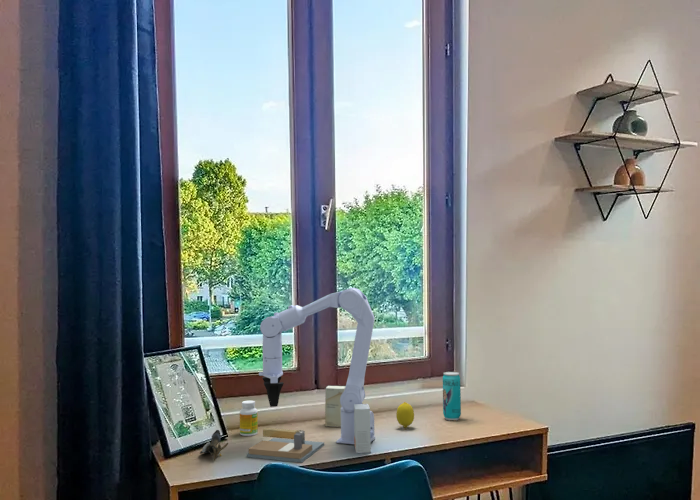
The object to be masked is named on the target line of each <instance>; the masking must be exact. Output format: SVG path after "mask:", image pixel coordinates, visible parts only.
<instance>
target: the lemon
mask: <svg viewBox="0 0 700 500" xmlns="http://www.w3.org/2000/svg"><path fill="white" fill-rule="evenodd" d="M414 419H415V412H414V408H413V407H412V405H411V404H410V403H408V402H406V401H404V402H403V403H400V405H398V407H397V409H396V421H397V423H398V424H399V425H400V426H402V427H403V428H404V429H407V428H408V427H409V426H410V425H412V423H413V422H414V421H415V420H414Z"/></svg>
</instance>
